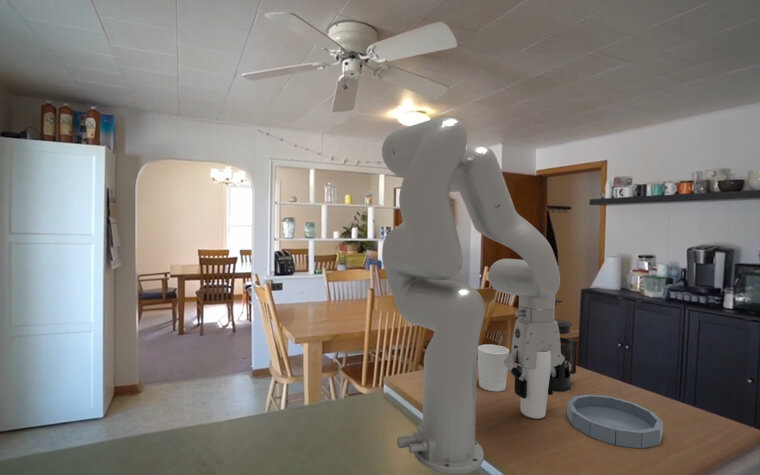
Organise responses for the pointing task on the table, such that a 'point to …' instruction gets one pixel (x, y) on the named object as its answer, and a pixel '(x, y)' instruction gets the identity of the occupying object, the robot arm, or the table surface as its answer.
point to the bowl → (615, 421)
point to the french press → (563, 374)
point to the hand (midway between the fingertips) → (533, 393)
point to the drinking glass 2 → (537, 387)
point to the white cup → (492, 367)
